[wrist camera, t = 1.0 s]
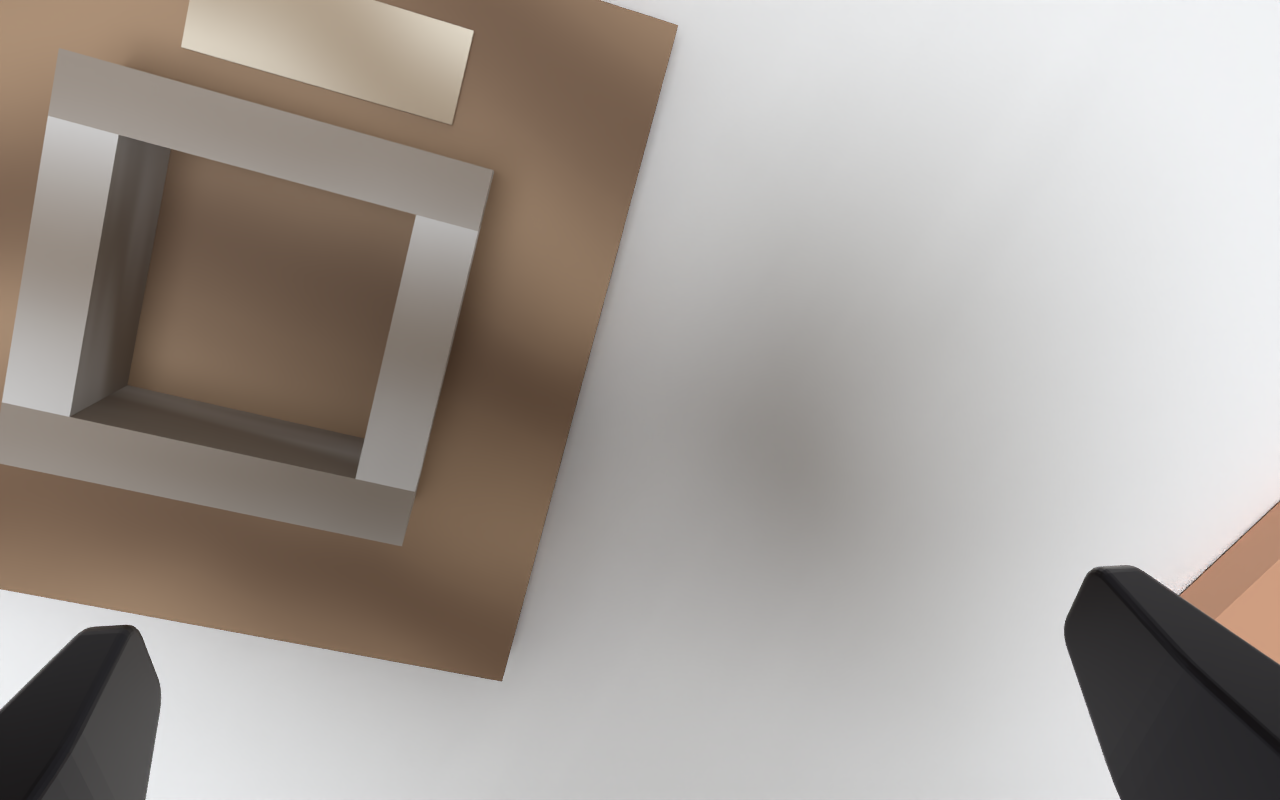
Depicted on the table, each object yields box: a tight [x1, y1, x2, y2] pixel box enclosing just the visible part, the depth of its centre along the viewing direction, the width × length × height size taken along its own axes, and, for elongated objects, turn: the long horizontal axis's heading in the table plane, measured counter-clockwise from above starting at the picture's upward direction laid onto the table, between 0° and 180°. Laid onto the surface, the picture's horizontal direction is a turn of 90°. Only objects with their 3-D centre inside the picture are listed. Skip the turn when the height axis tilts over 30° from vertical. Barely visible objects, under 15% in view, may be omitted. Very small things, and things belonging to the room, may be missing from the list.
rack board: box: [0, 0, 678, 681], centre depth 21 cm, size 16×14×4 cm
